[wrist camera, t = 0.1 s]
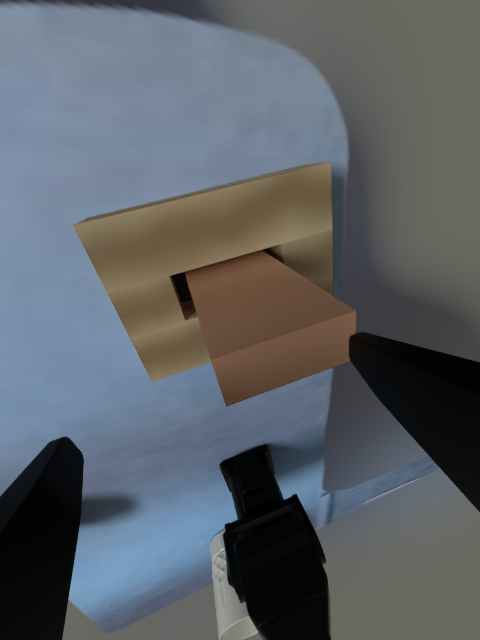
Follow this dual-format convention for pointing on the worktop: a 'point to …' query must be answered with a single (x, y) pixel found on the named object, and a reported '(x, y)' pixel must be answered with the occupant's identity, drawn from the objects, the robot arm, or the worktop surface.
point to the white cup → (228, 598)
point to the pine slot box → (205, 252)
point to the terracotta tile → (267, 324)
